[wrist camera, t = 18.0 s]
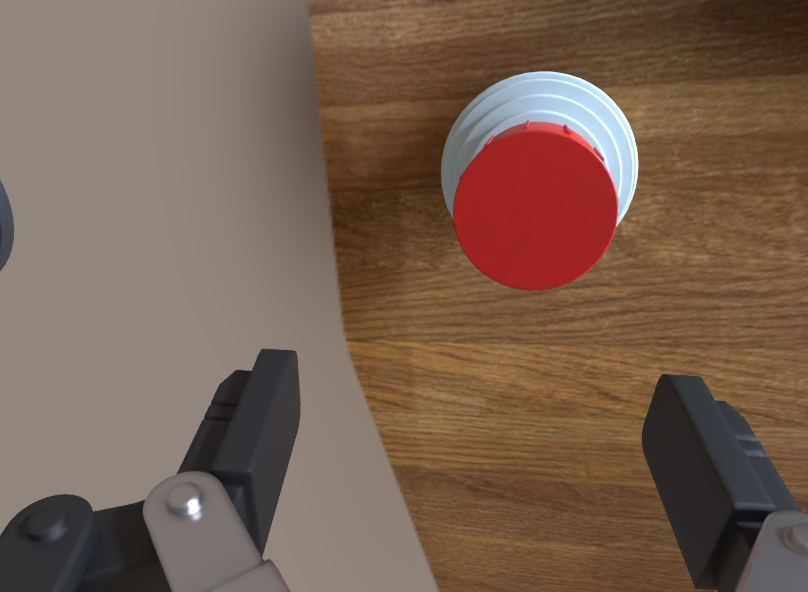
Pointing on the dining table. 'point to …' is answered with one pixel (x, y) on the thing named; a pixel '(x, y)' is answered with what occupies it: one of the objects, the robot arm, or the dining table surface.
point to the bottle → (544, 103)
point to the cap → (535, 207)
